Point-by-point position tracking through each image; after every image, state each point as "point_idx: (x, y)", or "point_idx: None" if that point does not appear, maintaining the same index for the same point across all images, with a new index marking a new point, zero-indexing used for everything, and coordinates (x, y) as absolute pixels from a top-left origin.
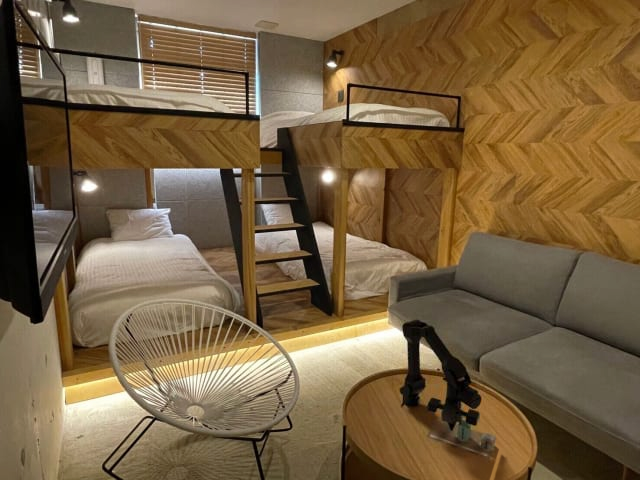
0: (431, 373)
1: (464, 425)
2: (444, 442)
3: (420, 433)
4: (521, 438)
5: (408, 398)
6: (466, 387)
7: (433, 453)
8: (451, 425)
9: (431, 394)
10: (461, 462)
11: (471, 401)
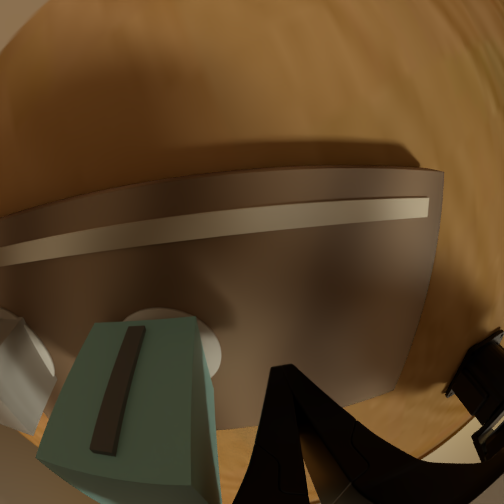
0: None
1: (111, 487)
2: (293, 182)
3: (459, 215)
4: None
5: None
6: None
7: (327, 32)
8: (301, 416)
9: (399, 444)
10: (71, 77)
11: None
